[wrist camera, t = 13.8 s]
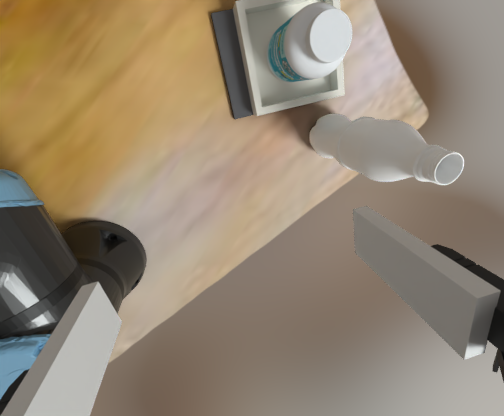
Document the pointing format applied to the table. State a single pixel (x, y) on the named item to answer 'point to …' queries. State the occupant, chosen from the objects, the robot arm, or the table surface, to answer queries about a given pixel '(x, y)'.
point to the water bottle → (384, 150)
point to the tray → (255, 59)
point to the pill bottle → (309, 43)
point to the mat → (232, 62)
